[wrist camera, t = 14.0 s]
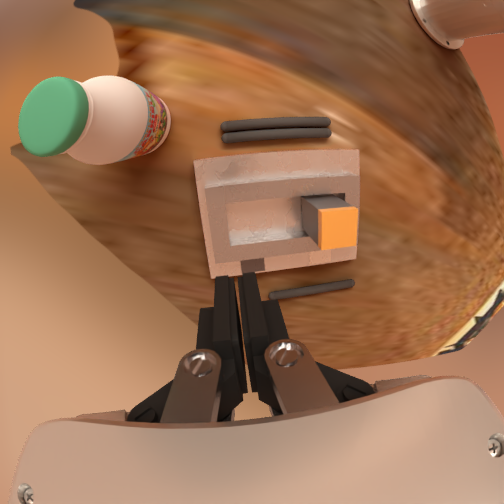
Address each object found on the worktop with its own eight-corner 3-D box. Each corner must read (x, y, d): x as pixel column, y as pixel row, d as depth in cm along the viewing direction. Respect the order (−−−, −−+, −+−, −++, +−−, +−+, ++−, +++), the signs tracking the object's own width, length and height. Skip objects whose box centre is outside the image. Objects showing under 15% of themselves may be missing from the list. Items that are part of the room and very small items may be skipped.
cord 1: (222, 143, 30) (222, 143, 29) (219, 122, 29) (219, 121, 28) (329, 137, 31) (333, 137, 30) (328, 117, 30) (331, 116, 29)
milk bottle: (115, 160, 29) (7, 198, 11) (109, 101, 26) (0, 80, 8) (174, 150, 30) (109, 169, 11) (169, 88, 26) (104, 29, 8)
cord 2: (268, 297, 39) (269, 302, 38) (267, 290, 39) (269, 295, 37) (352, 284, 40) (355, 287, 39) (353, 277, 39) (356, 281, 38)
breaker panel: (194, 159, 30) (191, 162, 27) (353, 148, 32) (366, 150, 29) (211, 273, 36) (210, 286, 33) (351, 254, 38) (362, 265, 35)
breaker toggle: (301, 196, 32) (321, 212, 26) (332, 194, 32) (358, 208, 26) (302, 227, 34) (321, 250, 27) (332, 224, 34) (356, 245, 27)
